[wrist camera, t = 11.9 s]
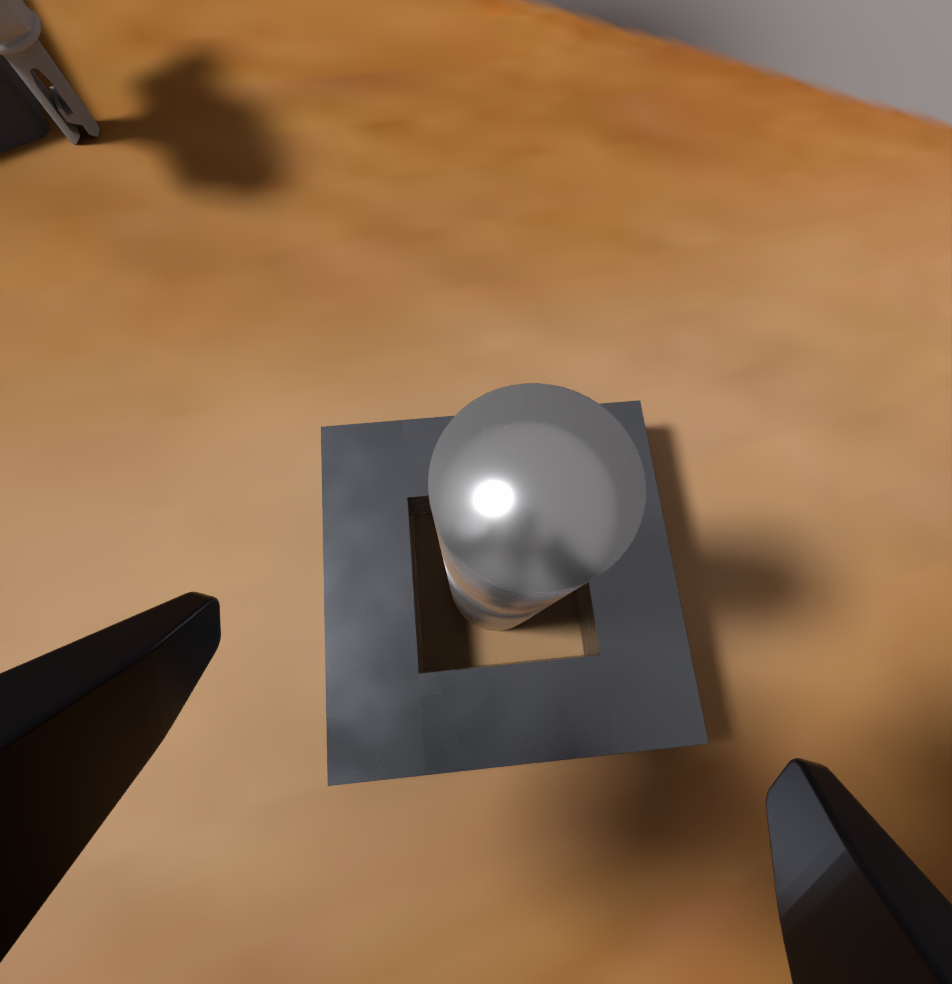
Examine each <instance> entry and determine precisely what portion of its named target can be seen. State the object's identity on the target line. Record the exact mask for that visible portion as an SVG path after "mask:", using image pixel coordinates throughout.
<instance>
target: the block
mask: <svg viewBox="0 0 952 984" xmlns="http://www.w3.org/2000/svg"><path fill="white" fill-rule="evenodd" d="M600 405H601V406H602V407H604V408H605V409H606V410H607V411H609V412H610V413H611V414H612V415H613V416H614V417H615V418H616V419H617V420H618V421H619V422H620V423H621V425H622V426H623V427H624V429H625V430H626V431H627V433H628V434H629V436H630V437H631V439H632V441H633V443H634V444H635V446H636V448H637V451H638V453H639V456H640V458H641V462H642V465H643V469H644V474H645V482H646V501H645V508H644V514H643V517H642V520H641V524H640V527H639V529H638V531H637V533H636V535H635V538H634V539H633V541H632V542H631V544H630V546H629V547H628V549H627V550H626V551H625V553H624V554H623V555H622V556H621V557H620V558H619V559H618V561H617V562H615V563H614V564H613V565H612V566H611V567H610V568H608V569H607V570H606V571H605V572H603V573H601V574H600V575H598V576H597V577H595V578H594V579H592V580H590V581H589V582H587V583H586V584H584V585H582V586H581V587H579V588H577V589H576V590H575V593H576V600H577V607H578V613H579V620H580V627H581V634H582V640H583V647H584V654H585V655H581V656H572V657H562V658H552V659H542V660H533V661H523V662H513V663H504V664H494V665H484V666H474V667H465V668H455V669H445V670H436V671H426V672H424V660H423V645H422V630H421V615H420V600H419V586H418V571H417V556H416V541H415V526H414V515H415V514H426V513H432V510H431V506H430V500H429V493H428V474H429V467H430V462H431V458H432V454H433V451H434V449H435V446H436V444H437V442H438V439H439V437H440V436H441V434H442V432H443V431H444V429H445V428H446V426H447V425H448V424H449V422H450V421H451V420H452V419H453V417H454V416H446V417H434V418H422V419H410V420H398V421H386V422H374V423H362V424H350V425H338V426H326V427H321V456H322V508H323V560H324V612H325V664H326V717H327V769H328V786H332V785H341V784H350V783H359V782H368V781H377V780H386V779H395V778H404V777H413V776H422V775H431V774H440V773H449V772H458V771H467V770H476V769H485V768H494V767H503V766H512V765H521V764H530V763H539V762H548V761H557V760H566V759H575V758H584V757H593V756H602V755H611V754H620V753H629V752H638V751H647V750H656V749H665V748H674V747H683V746H692V745H701V744H709V743H708V738H707V733H706V728H705V723H704V718H703V713H702V708H701V703H700V698H699V693H698V688H697V683H696V678H695V673H694V668H693V663H692V658H691V653H690V648H689V643H688V638H687V633H686V628H685V623H684V618H683V613H682V608H681V603H680V598H679V593H678V588H677V583H676V578H675V573H674V568H673V563H672V558H671V553H670V548H669V543H668V538H667V533H666V528H665V523H664V518H663V513H662V508H661V503H660V498H659V493H658V488H657V483H656V478H655V473H654V468H653V463H652V458H651V453H650V448H649V443H648V438H647V433H646V428H645V423H644V418H643V413H642V408H641V403H640V401H628V402H615V403H603V404H600Z"/></svg>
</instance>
